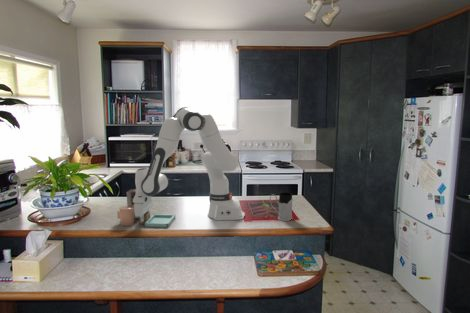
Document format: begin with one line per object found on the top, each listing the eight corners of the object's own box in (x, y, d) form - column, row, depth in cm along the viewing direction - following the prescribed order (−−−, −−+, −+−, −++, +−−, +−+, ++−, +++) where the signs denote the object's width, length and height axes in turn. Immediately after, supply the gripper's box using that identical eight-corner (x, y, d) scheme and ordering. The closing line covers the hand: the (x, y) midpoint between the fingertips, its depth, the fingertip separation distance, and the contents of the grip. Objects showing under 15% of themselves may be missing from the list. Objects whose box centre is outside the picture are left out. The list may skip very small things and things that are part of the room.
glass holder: (290, 221, 189) (290, 196, 187) (266, 218, 195) (267, 193, 193) (294, 217, 197) (295, 193, 195) (271, 214, 203) (272, 190, 201)
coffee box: (146, 215, 199) (145, 189, 197) (142, 218, 193) (141, 192, 190) (131, 214, 200) (130, 189, 198) (127, 218, 194) (126, 191, 191)
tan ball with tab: (136, 221, 188) (135, 206, 187) (131, 226, 180) (130, 210, 179) (121, 221, 189) (120, 205, 187) (115, 225, 181) (114, 209, 180)
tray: (175, 217, 195) (175, 214, 194) (168, 227, 179) (167, 223, 179) (154, 217, 196) (153, 214, 195) (144, 226, 180) (144, 223, 179)
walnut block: (150, 220, 189) (150, 212, 188) (147, 223, 184) (147, 215, 183) (142, 220, 189) (141, 212, 189) (138, 223, 185) (138, 215, 184)
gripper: (144, 191, 195) (145, 213, 197) (131, 200, 175) (132, 225, 177) (155, 191, 195) (155, 213, 197) (143, 200, 174) (143, 225, 176)
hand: (144, 219), depth 187 cm, fingers closed on walnut block, 5 cm apart
